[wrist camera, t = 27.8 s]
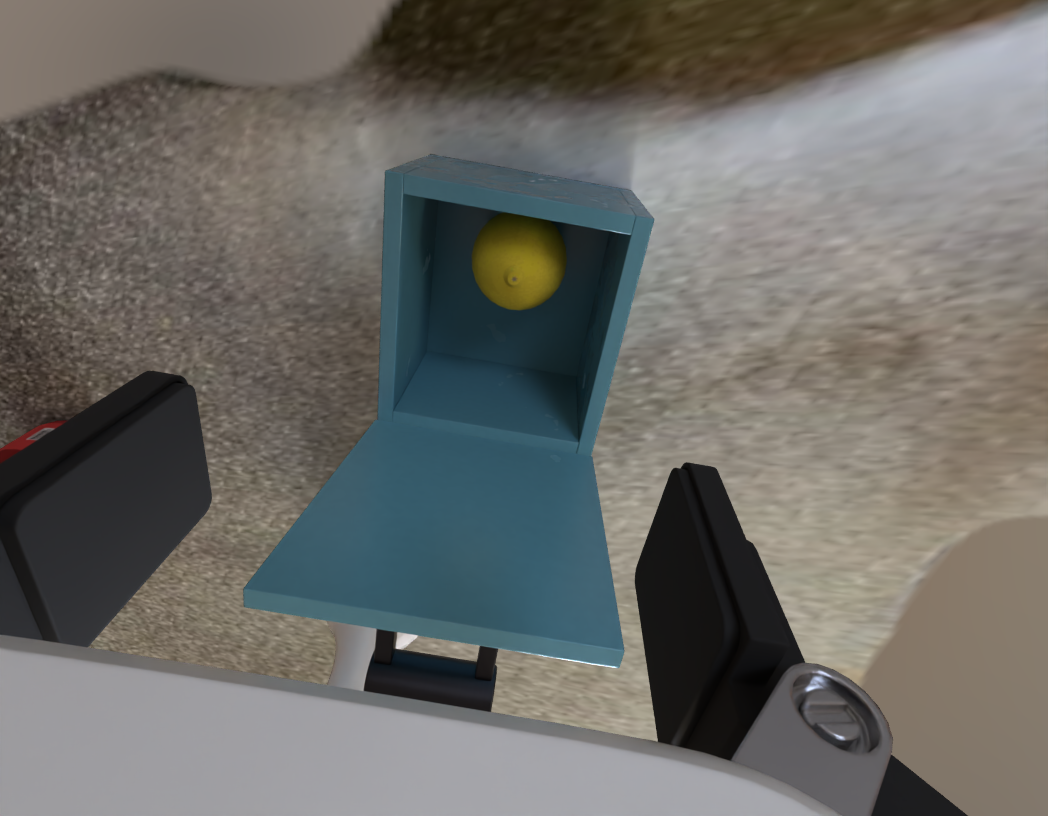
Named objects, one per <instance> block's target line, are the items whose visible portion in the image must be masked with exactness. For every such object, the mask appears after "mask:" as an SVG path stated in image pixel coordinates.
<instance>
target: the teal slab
mask: <svg viewBox="0 0 1048 816" xmlns="http://www.w3.org/2000/svg"><path fill="white" fill-rule="evenodd" d="M243 597H244V607H246V608H252V609H258V610H265V611H271V612H277V613H283V614H289V615H295V616H301V617H308V618H314V619H320V620H326V621H332V622H338V623H344V624H350V625H357V626H363V627H369V628H375V629H376V641H375V650H374V652H373V654H372V657H371V660H370V663H369V666H368V670H367V674H366V678H365V683H364V690H363V691H366V692H372V693H378V694H385V695H391V696H397V697H403V698H409V699H415V700H421V701H427V702H433V703H439V704H445V705H451V706H457V707H463V708H469V709H475V710H481V711H487V712H491V708H492V702H493V696H494V689H495V682H496V674H497V666H496V665H495V662H496V657H497V652H498V649H504V650H510V651H516V652H522V653H528V654H535V655H541V656H547V657H553V658H559V659H565V660H571V661H577V662H584V663H590V664H596V665H602V666H608V667H614V668H619V667H620V664H621V661H622V658H623V655H624V645H623V639H622V633H621V627H620V621H619V615H618V609H617V603H616V597H615V591H614V585H613V579H612V573H611V567H610V561H609V555H608V548H607V542H606V536H605V530H604V524H603V518H602V512H601V506H600V500H599V494H598V488H597V482H596V476H595V470H594V464H593V458H592V457H591V456H585V455H579V454H574V453H568V452H562V451H556V450H550V449H544V448H538V447H533V446H527V445H521V444H515V443H509V442H503V441H497V440H492V439H486V438H480V437H474V436H468V435H462V434H456V433H451V432H445V431H439V430H433V429H427V428H421V427H415V426H410V425H404V424H398V423H392V422H386V421H380V420H375V421H374V422H373V423H372V425H371V426H370V427H369V428H368V430H367V431H366V432H365V434H364V435H363V436H362V437H361V439H360V440H359V441H358V442H357V444H356V445H355V446H354V448H353V449H352V450H351V451H350V453H349V454H348V455H347V457H346V458H345V459H344V460H343V462H342V463H341V464H340V466H339V467H338V468H337V469H336V471H335V472H334V473H333V474H332V476H331V477H330V478H329V480H328V481H327V482H326V483H325V485H324V486H323V487H322V489H321V490H320V491H319V492H318V494H317V495H316V496H315V498H314V499H313V500H312V501H311V503H310V504H309V505H308V507H307V508H306V509H305V510H304V512H303V513H302V514H301V515H300V517H299V518H298V519H297V521H296V522H295V523H294V524H293V526H292V527H291V528H290V530H289V531H288V532H287V533H286V535H285V536H284V537H283V539H282V540H281V541H280V542H279V544H278V545H277V546H276V547H275V549H274V550H273V551H272V553H271V554H270V555H269V556H268V558H267V559H266V560H265V562H264V563H263V564H262V565H261V567H260V568H259V569H258V571H257V572H256V573H255V574H254V576H253V577H252V578H251V580H250V581H249V582H248V583H247V585H246V586H245V587H244V589H243ZM397 632H400V633H406V634H412V635H418V636H424V637H430V638H436V639H443V640H449V641H455V642H461V643H467V644H473V645H479V646H480V648H479V653H478V659H477V662H475V661H469V660H463V659H456V658H450V657H444V656H438V655H432V654H426V653H419V652H413V651H407V650H401V649H396V640H397Z"/></svg>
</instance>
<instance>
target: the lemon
mask: <svg viewBox="0 0 1048 816" xmlns="http://www.w3.org/2000/svg"><path fill="white" fill-rule="evenodd" d="M566 264H567V256H566V247H565V244H564V241H563V238H562V236H561V234H560V232H559V231H558V229H557V228H556V226H555V225H554V224H553V223H552V222H551V221H550V220H546V219H540V218H534V217H529V216H523V215H518V214H512V213H507V212H503V213H500V214H498V215H497V216H495V217H494V218H492V219H491V220H489V221H488V223H487V224H486V225H485V226H484V227H483V228H482V229H481V230H480V232H479V234H478V236H477V238H476V240H475V243H474V247H473V252H472V270H473V273H474V277H475V280H476V283H477V284H478V286H479V288H480V289H481V291H482V292H483V293H484V295H485V296H486V297H487V298H488V299H489V300H490V301H492V302H493V303H495V304H497V305H498V306H500V307H503V308H506V309H510V310H526V309H531V308H534V307H536V306H538V305H541V304H542V303H543V302H545V301H546V300H547V299H549V298H550V297H551V296H552V295H553V294H554V292H555V291H556V290H557V289H558V288H559V286H560V284H561V281H562V279H563V277H564V275H565V269H566Z"/></svg>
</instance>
